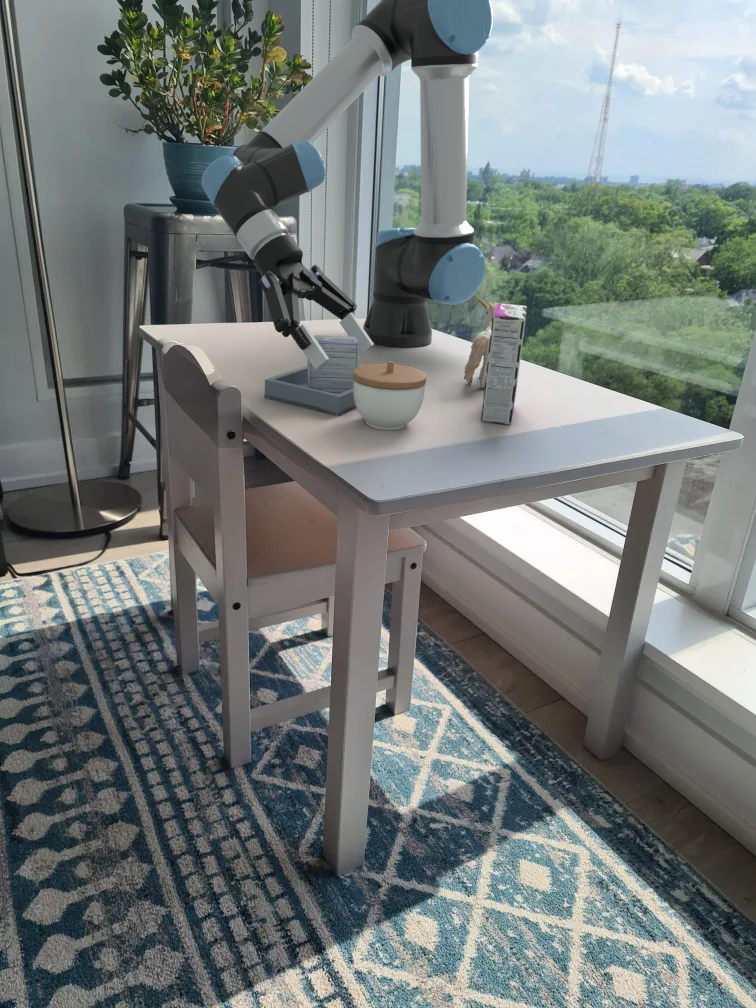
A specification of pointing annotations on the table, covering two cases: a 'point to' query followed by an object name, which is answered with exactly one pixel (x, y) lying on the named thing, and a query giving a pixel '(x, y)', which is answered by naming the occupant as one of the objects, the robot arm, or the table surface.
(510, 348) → the candy bar box
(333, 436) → the table surface
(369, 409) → the lidded jar
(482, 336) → the unicorn figurine
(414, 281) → the robot arm
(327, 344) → the medicine box
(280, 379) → the slate tray
